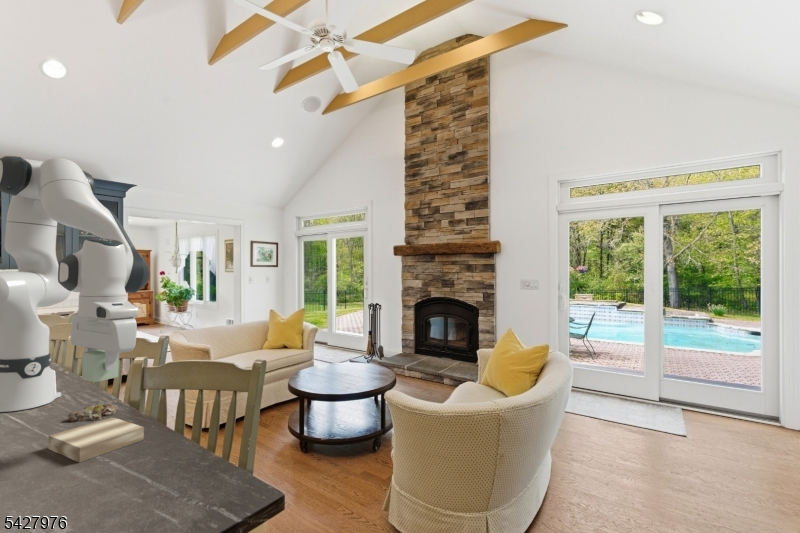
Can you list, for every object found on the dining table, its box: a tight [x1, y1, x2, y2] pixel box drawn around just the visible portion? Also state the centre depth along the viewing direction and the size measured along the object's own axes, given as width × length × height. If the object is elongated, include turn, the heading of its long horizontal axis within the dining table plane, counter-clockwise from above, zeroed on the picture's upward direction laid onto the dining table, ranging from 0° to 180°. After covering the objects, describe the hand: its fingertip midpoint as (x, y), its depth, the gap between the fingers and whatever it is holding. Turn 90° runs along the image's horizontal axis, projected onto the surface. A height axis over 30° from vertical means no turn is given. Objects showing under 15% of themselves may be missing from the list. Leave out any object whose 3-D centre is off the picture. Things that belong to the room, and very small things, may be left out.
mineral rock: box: [67, 403, 119, 423], centre depth 108 cm, size 11×4×8 cm
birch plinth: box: [47, 416, 145, 463], centre depth 91 cm, size 13×13×3 cm
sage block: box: [81, 350, 120, 383], centre depth 91 cm, size 5×5×6 cm
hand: (100, 368), depth 91 cm, fingers closed on sage block, 5 cm apart
